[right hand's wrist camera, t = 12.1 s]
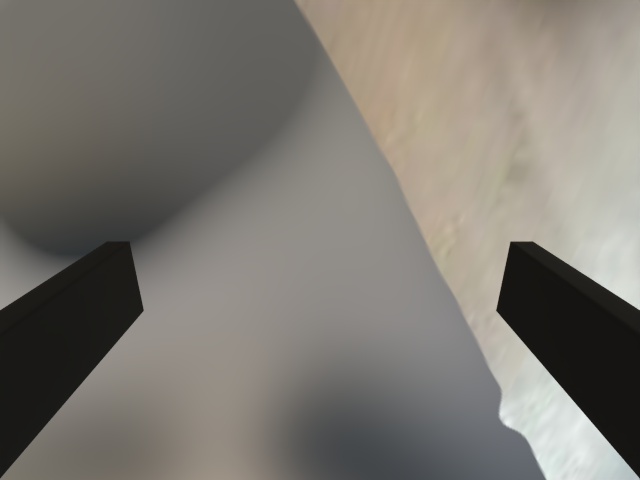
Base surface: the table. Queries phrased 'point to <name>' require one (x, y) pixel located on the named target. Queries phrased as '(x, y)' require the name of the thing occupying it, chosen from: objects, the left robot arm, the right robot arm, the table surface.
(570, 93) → the table surface
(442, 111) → the table surface
